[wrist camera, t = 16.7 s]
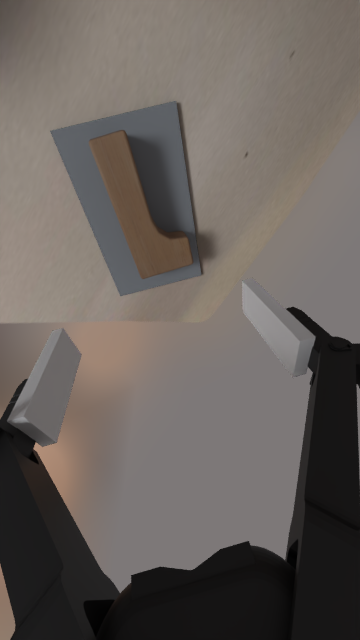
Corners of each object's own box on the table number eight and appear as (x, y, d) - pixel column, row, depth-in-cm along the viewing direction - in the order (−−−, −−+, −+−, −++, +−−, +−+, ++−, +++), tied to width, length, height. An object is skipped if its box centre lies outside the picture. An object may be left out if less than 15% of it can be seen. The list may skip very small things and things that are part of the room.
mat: (51, 131, 26) (50, 131, 26) (175, 102, 27) (176, 100, 26) (120, 294, 41) (120, 296, 40) (200, 273, 41) (201, 275, 41)
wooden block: (188, 255, 38) (159, 123, 27) (194, 264, 34) (163, 116, 24) (141, 270, 38) (92, 143, 27) (141, 280, 34) (86, 139, 24)
